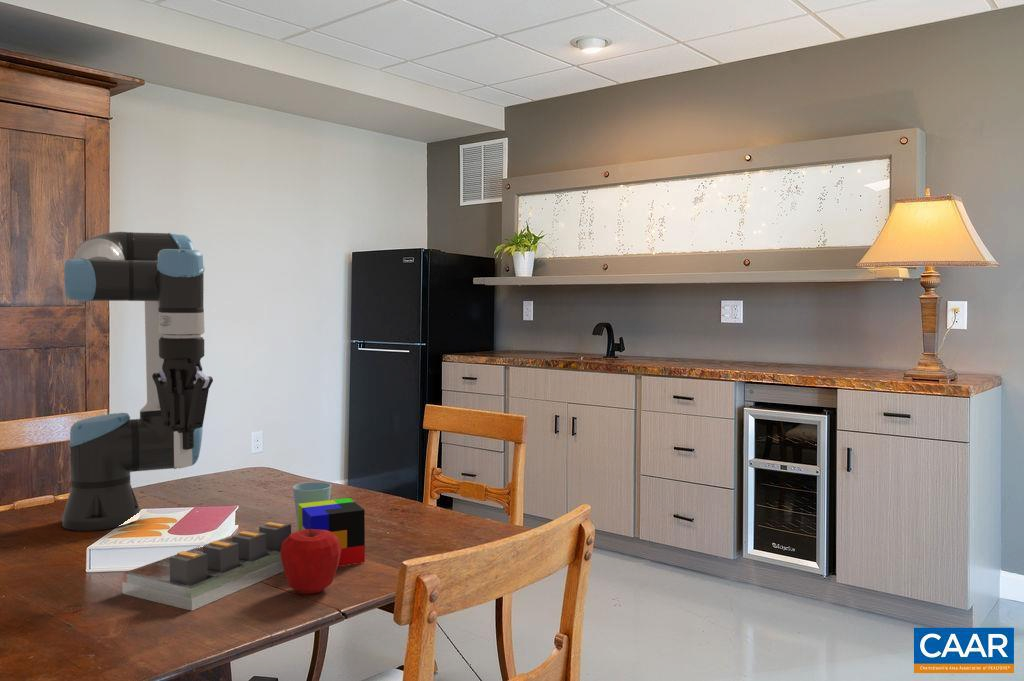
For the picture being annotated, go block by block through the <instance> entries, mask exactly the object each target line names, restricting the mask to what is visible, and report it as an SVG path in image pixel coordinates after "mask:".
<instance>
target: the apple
mask: <svg viewBox="0 0 1024 681" xmlns="http://www.w3.org/2000/svg"><path fill="white" fill-rule="evenodd" d="M341 550H342V549H341V546H340V543H339V540H338V538H337V537H336V536H335V535H334V534H333V533H332V532H331V531H327V530H317V529H310V528H309V529H304V530H300V531H298V530H296V531H294V532H291V534H290V535H289V536H288V537H287V538H286V539H285V540H284V541H283V542H282V546H281V551H280V555H281V560H282V564H283V569H284V571H283V573H284V574H285V578H286V581H287V583H288V585H289V588H291V589H292V590H294V591H296V592H297V593H300V594H303V595H309V594H317V593H321V592H322V591H324V590H325V589H326V588H328V587H329V586H330V585H331V584H332V583H333V581H334V578H335V575H336V573H337V569H338V567H339V566H338V564H339V559H340V554H341Z"/></svg>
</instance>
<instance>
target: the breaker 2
mask: <svg viewBox="0 0 1024 681" xmlns="http://www.w3.org/2000/svg"><path fill="white" fill-rule="evenodd" d="M219 540H220V539H219ZM209 543H210V544H209ZM209 543H208V544H209V545H206V544H205V545H206V546H203V545H202V546H203V553H205V554H207V570H209V571H214V572H219V573H225V572H227V571H230V570H232V569H235V568H237V567H239V554H238V543H234V542H228V541H223V540H220V541H217V540H214V541H211V542H209Z"/></svg>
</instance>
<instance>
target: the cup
mask: <svg viewBox="0 0 1024 681" xmlns="http://www.w3.org/2000/svg"><path fill="white" fill-rule="evenodd" d="M292 491H293V498H294V506H295V507H294V508H295V515H296V523H297V526H298V504H300V503H309V502H318V501H327V500H330V499H331V491H332V484H331V483H328V482H322V481H310V482H309V481H307V482H301V483H297V484H295V485H293V487H292ZM297 531H299V530H298V529H297Z"/></svg>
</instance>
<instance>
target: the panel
mask: <svg viewBox="0 0 1024 681" xmlns="http://www.w3.org/2000/svg"><path fill="white" fill-rule="evenodd" d="M238 534H239V532H238V533H235V534H232V535H230V536H226V537H224V538H223V537H222V538H220V539H217V540H216V541H220V540H223V541H228V542H232V536H235V535H238ZM209 544H210V542H209V543H206V544H203V545H204V546H206V545H209ZM197 547H198V548H197ZM197 547H195V548H191V549H189V550H190V551H195V552H200V553H203V547H200V546H197ZM199 547H200V548H199ZM189 550H186V551H189ZM186 551H185V552H186ZM280 551H281V550H280ZM280 551H274V550H268V549H266V556H265V557H263V558H260V559H258V560H255V561H253V562H250V561H245V560H240V559H239V567H237V568H235V569H232V570H230V571H227V572H225V573H219V572H214V571H209V570H207V580H205V581H202V582H200V583H197V584H194V585H192V586H188V585H184V584H180V583H175V582H171V581H170V558H169V557H172V556H175V555H176V554H174V555H171V556H168V557H165V558H163V559H160V560H157V561H154V562H150V563H148V564H146V565H142V566H139V567H136V568H133V569H131V570H127V571H124V572H122V583H121V584H122V595H126V596H130V597H135V598H138V599H142V600H147V601H150V602H151V601H152V602H155V603H159V604H163V605H168V606H171V607H176V608H179V609H184V610H188V611H190V612H191V611H195V610H197V609H199V608H202V607H204V606H206V605H209V604H211V603H214V602H215V601H218V600H221V599H222V598H225V597H228V596H229V595H231V594H235V593H236V592H238V591H241V590H243V589H246V588H248V587H250V586H252V585H255V584H257V583H259V582H262V581H264V580H266V579H269V578H272V577H274V576H276V575H278V574H281V573H284V569H283V564H282V560H281V555H280Z"/></svg>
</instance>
